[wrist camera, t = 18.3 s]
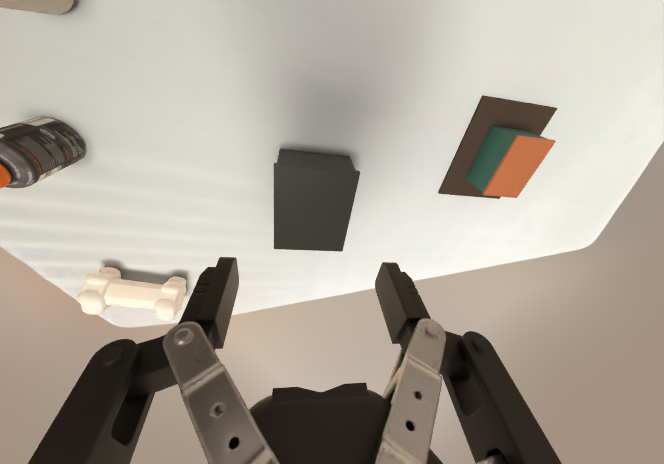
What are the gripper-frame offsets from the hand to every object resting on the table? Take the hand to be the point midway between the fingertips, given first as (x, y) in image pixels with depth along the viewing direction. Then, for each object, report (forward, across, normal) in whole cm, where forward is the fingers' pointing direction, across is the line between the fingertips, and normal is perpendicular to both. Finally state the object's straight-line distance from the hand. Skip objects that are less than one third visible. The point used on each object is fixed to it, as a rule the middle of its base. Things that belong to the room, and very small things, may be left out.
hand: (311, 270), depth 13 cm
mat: (+28, -32, 0) cm, 43 cm away
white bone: (+28, +30, +33) cm, 53 cm away
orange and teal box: (+28, -32, 0) cm, 42 cm away
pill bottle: (+28, +33, +5) cm, 44 cm away
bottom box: (+28, -2, +10) cm, 30 cm away
